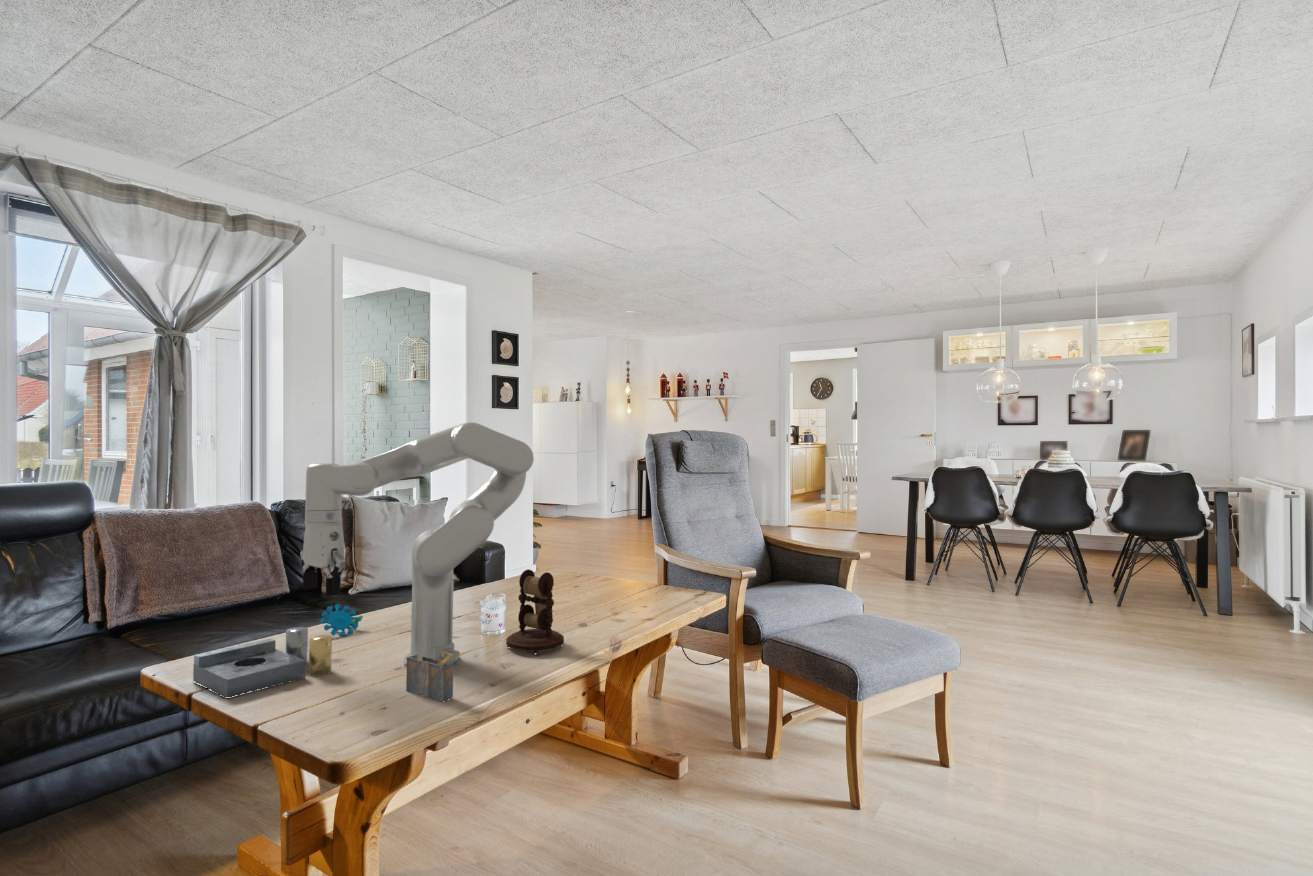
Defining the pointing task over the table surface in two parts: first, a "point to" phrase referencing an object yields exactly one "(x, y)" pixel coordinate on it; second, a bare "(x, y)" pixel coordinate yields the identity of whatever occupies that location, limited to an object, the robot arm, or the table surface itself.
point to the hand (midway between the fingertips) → (321, 592)
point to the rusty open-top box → (430, 677)
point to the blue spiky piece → (340, 620)
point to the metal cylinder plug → (297, 642)
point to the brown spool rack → (535, 615)
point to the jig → (246, 668)
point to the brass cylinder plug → (320, 654)
